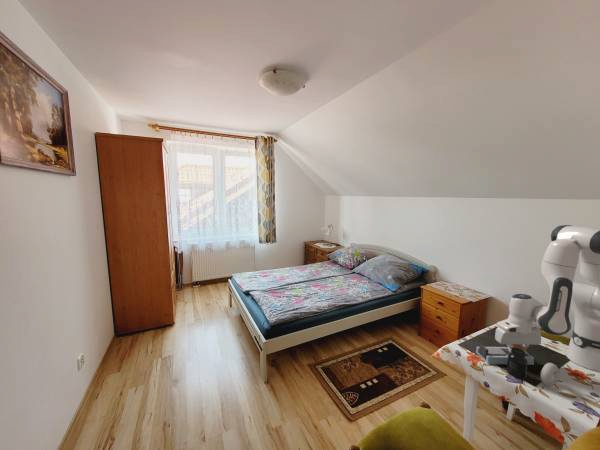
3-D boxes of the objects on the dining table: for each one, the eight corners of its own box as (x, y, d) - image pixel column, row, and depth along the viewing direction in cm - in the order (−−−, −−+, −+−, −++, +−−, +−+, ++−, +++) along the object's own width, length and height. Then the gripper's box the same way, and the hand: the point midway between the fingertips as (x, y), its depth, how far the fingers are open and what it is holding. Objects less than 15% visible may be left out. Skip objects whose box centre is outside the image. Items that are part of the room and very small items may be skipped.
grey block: (498, 353, 124) (499, 344, 124) (505, 359, 120) (506, 350, 119) (478, 353, 125) (479, 344, 124) (485, 358, 120) (485, 350, 120)
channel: (518, 352, 126) (518, 346, 126) (534, 364, 117) (534, 358, 117) (475, 352, 127) (476, 346, 127) (488, 364, 118) (488, 357, 118)
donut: (548, 391, 101) (550, 370, 100) (537, 385, 104) (539, 364, 103) (559, 383, 105) (561, 363, 104) (548, 378, 108) (551, 358, 107)
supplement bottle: (530, 380, 107) (532, 356, 106) (512, 378, 109) (514, 354, 107) (519, 369, 114) (521, 346, 112) (503, 368, 115) (505, 345, 114)
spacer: (517, 351, 123) (518, 342, 123) (525, 357, 119) (526, 347, 118) (508, 351, 123) (509, 342, 123) (515, 356, 119) (516, 347, 118)
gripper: (534, 322, 122) (531, 347, 124) (493, 322, 123) (491, 347, 124) (546, 329, 116) (543, 355, 117) (503, 329, 117) (501, 354, 118)
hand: (516, 351), depth 121 cm, fingers closed on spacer, 4 cm apart
